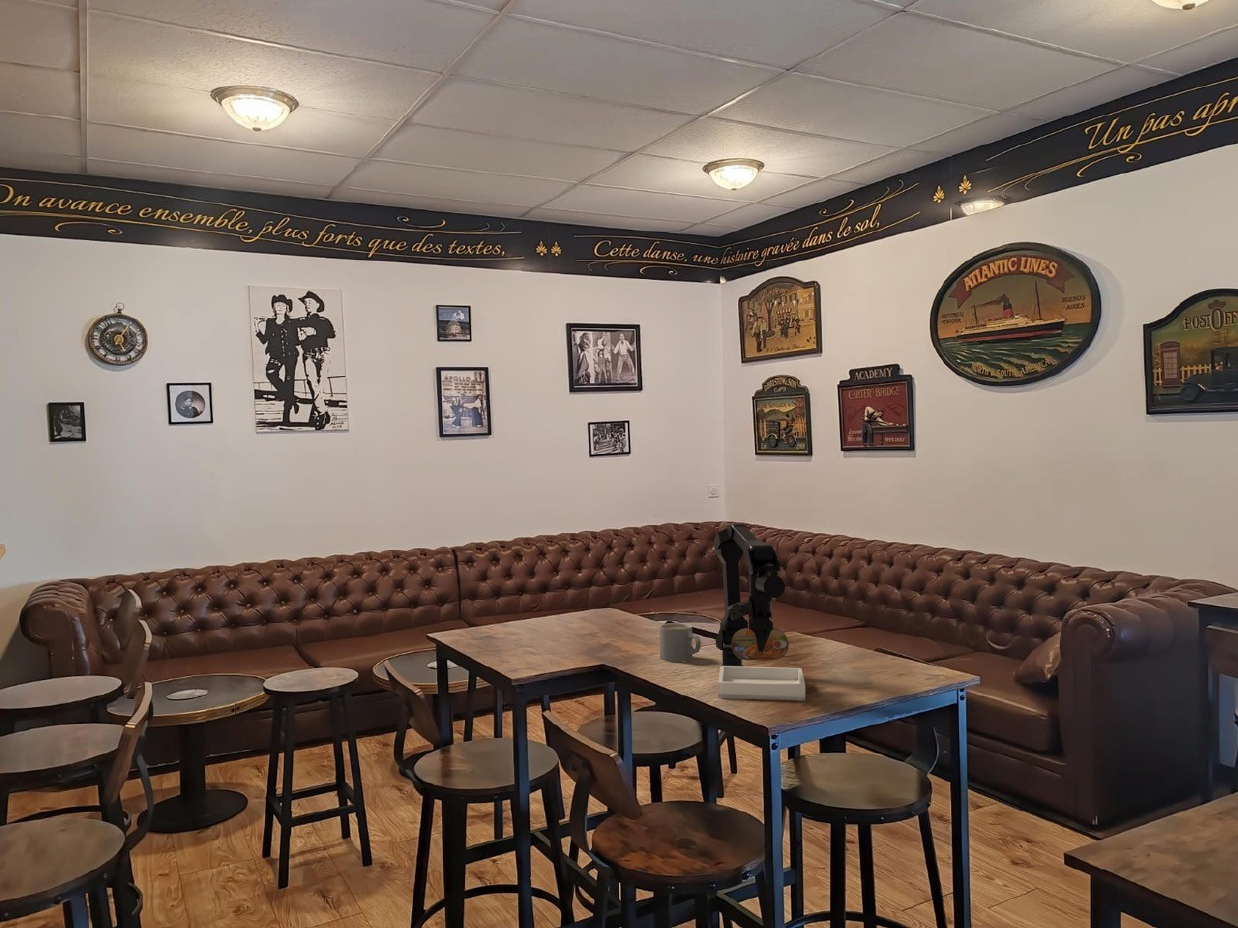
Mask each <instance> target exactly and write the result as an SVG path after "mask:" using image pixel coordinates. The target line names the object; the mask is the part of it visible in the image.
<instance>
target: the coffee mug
mask: <svg viewBox="0 0 1238 928" xmlns="http://www.w3.org/2000/svg"><path fill="white" fill-rule="evenodd" d="M693 640H694V641H695V648H694V647H693V646H694V645H693ZM701 646H702V642H701V637H700V636H699V635H698V634H695V633H693V625H692V624H689V623H683V622H682V623H681V622H671V623H670V622H669V623H663V624H660V625H659V660H661V659H662V660H665V661H664V662H666V661H668V662H667V663H684V662H683V661H687V662H690V661H692V660H693V655H695V654H698V653H699V652H700V649H701ZM691 659H692V660H691ZM662 660H661V661H662ZM689 660H690V661H689Z"/></svg>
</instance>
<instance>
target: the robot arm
mask: <svg viewBox="0 0 1238 928" xmlns="http://www.w3.org/2000/svg"><path fill="white" fill-rule="evenodd" d="M748 528H749V527H748V526H747V524H745V523H732V524H731V523H730V524H728V525H727V527H726V528H724V529H723V530H720V531H719V532H717V534H716V536H715V537H714V539H713V546H714V549H715V551H716V552H715V553H716V556H717V558H718V559H719V561H720V562H721V564H722V579H723V599H724V601H723V602H724V615H723V617H722V619H721V620H720V622H719V630H718V633H717V635H716V638H715V640H714V641H715V646H716V648H717V649H718V650H720V651H721V652H722V653H721V654H722V657H721V658H722V660H721V663H722V664H720V666H741V667H745V665H744V664H743V660H742V659H740V658H738V657H737V656H736V655H735V654H734V652H733V650H732V647H731V641H732V638H733V636H734V635H735V633H736V632H737V631H739V630H741V629H744V628H749V630H752V631H753V632H754V633H755V636H756V641H757V646H758V651H759V652H763V650H764V647H765V645H766V642H767V640H768V637H769V635H770V633H771V630H773V628H774V621H773V615H772V614H773V612H772V599H777V598H780V597H781V596H782V595H783V593H784V592H785V589H786V584H785V582H784V580H783V579H782V578H781V576H779V575H778V572H781V564H780V563H781V561H780V560H779V558H778V555H777V552H776V549H774V547H773V545H772V544H770V543H768V542H766V541H761V540H759V539H758V538H757V537H756V536H755V535H754V534H753V533H752V531H750V530H749V529H748ZM743 556H744V557H743ZM742 558H744V561H745V564H746V566H747V568H748V570H747V572H748V574H749V576H748V577H749V581H748V582H749V583H748V585H749V588H748V589H749V592H748V593H749V594H748V595H747V597H748V598H747V599H746V600H744V601H741V600H742V599H741V586H740V585H741V584H740V583H741V582H740V570H739V569H740V565H739V564H740V561H741V559H742ZM745 616H748V620H747V619H746V618H745Z"/></svg>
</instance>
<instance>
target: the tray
mask: <svg viewBox="0 0 1238 928" xmlns="http://www.w3.org/2000/svg"><path fill="white" fill-rule="evenodd" d="M803 673H804V672H803V670H802V667H774V666H770V667H769V666H744V667H741V666H721V665H720V667H719V675H718V682H717V690H718V691H717V698H718V699H740V700H772V701H775V700H776V701H777V700H778V701H806V683H805V678H804V677H805V676H804V674H803Z"/></svg>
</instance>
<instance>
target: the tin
mask: <svg viewBox="0 0 1238 928" xmlns="http://www.w3.org/2000/svg"><path fill="white" fill-rule="evenodd" d="M789 643H790V641H789V639H788V637H787V634H785V633H784V631H782V629H779V628H776V627H773V630H771V633H770V635H769V637H768V640H767V642H766V645H765V647H764V650H763V652H759V651H758V646H757V641H756V636H755V633H754V632H753V631H752V630H749V627H748V628H744V629H741V630H739V631H737V632H736V633H735V635H734V636H733V638H732V641H731V647H732V650H733V652H734V654H735V655H736V656H737V657H738V658H740V659H742V661H746V662H747V661H777V660H780V659H782V658H783V657H785V655H786V654H787V653H788V650H789V647H790V645H789Z"/></svg>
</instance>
